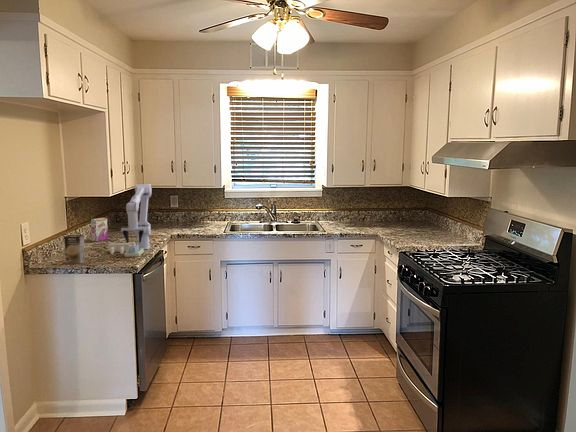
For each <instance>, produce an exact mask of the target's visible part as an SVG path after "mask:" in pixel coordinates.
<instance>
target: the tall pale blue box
mask: <svg viewBox="0 0 576 432" xmlns="http://www.w3.org/2000/svg"><path fill="white" fill-rule="evenodd" d="M138 252H139V245H138V244H136V241H132V242H131V245H130V248H129V253H138Z"/></svg>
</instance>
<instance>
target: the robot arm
mask: <svg viewBox="0 0 576 432" xmlns="http://www.w3.org/2000/svg"><path fill="white" fill-rule="evenodd" d="M134 191H135V193H134V195H133V196H132V197H131V199H130V201H129V202H127V203H125V204H126V206H125V209H126V214H127V225H128V227H122V228H121V229H120V231H121V232H122V234H123V236H124V237H125V240H126V241H125V242H126V243H130V241H129V239H130V238H129V232H134V234H135V236H136V237H137V245H139V248H144V250H149V249H150V248H151V247H152V246H151V245H150V237H149V236H150V235H151V232H152V227H151V226H152V225H151V223H149V222H148V212H149V211H148V210H149V200H150V198H151V197H152V194H153V193H152V191H153V189H152V184H151V183H145V184H144V183H143V184H142V183H141V184H140V183H136V184H135V186H134ZM139 208H140V209H139ZM138 212H139V219H138ZM138 220H139V221H138Z"/></svg>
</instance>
